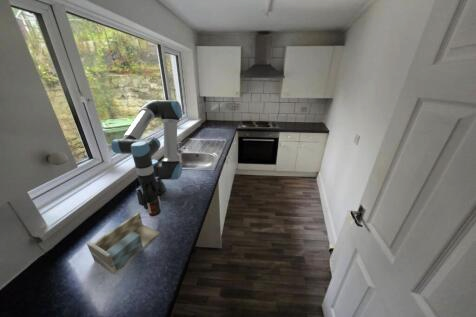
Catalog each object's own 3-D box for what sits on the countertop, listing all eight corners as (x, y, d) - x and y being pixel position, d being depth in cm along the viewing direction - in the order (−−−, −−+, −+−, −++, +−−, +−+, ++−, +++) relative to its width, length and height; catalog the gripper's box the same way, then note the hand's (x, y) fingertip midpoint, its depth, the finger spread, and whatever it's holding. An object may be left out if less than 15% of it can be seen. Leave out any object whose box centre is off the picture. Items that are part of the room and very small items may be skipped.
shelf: (141, 224, 99) (137, 209, 95) (159, 233, 94) (156, 217, 89) (94, 260, 79) (86, 243, 75) (114, 274, 74) (107, 256, 69)
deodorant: (162, 210, 101) (158, 188, 94) (155, 217, 96) (150, 195, 89) (154, 208, 102) (149, 186, 96) (146, 215, 97) (141, 193, 91)
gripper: (155, 163, 97) (162, 197, 107) (122, 179, 81) (133, 217, 91) (165, 166, 94) (171, 200, 104) (133, 184, 79) (144, 222, 89)
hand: (154, 208), depth 98 cm, fingers closed on deodorant, 6 cm apart
